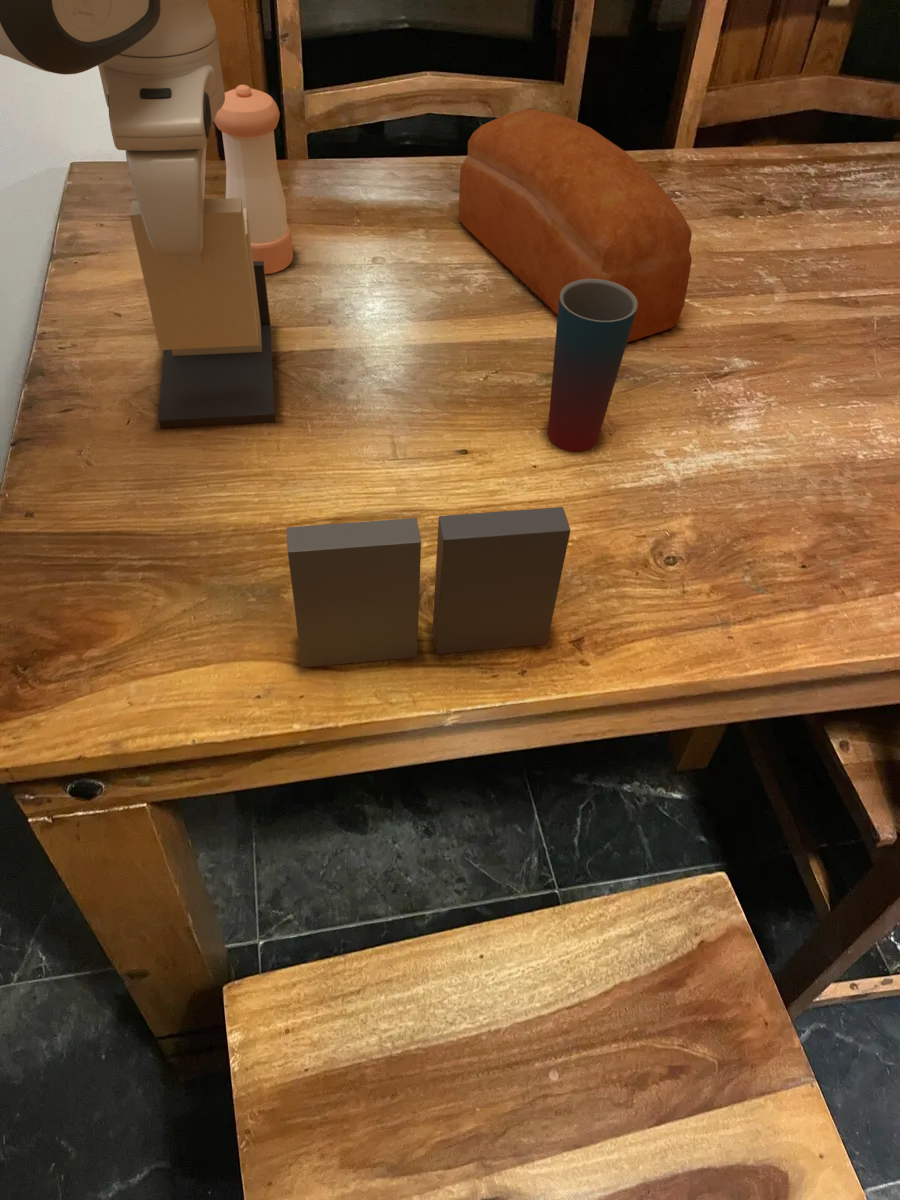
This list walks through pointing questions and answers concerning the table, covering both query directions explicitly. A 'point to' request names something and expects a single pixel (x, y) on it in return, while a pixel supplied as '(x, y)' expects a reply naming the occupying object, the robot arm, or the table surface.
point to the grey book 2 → (497, 578)
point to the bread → (575, 214)
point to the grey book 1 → (355, 590)
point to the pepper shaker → (256, 172)
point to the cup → (587, 359)
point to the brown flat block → (202, 284)
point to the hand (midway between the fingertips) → (192, 250)
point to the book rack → (222, 373)
